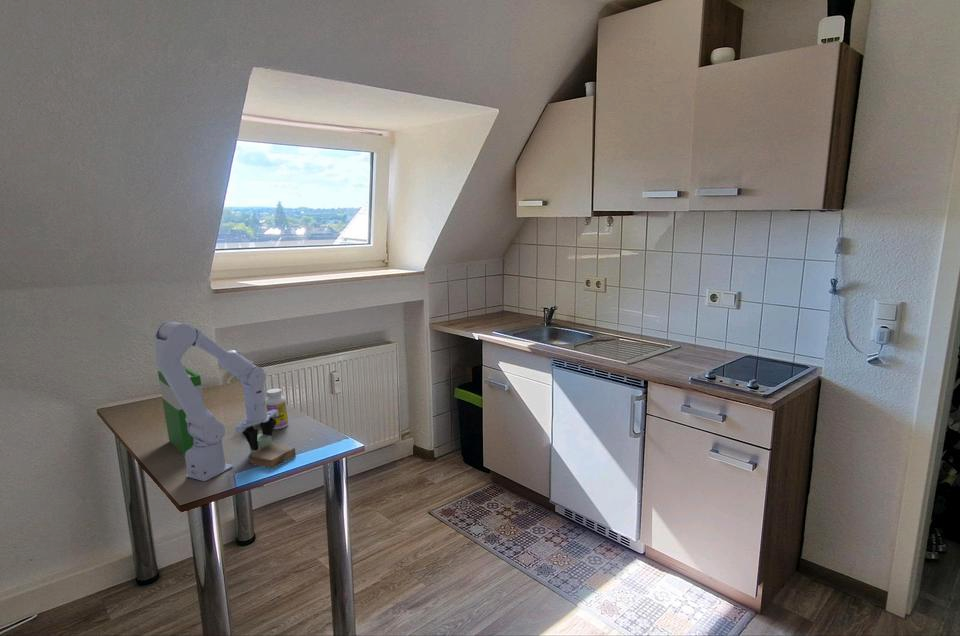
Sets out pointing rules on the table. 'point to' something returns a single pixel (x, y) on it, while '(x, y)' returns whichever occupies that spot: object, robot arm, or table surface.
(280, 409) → the supplement bottle
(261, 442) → the sage cube
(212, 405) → the table surface
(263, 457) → the walnut block
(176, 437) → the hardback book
